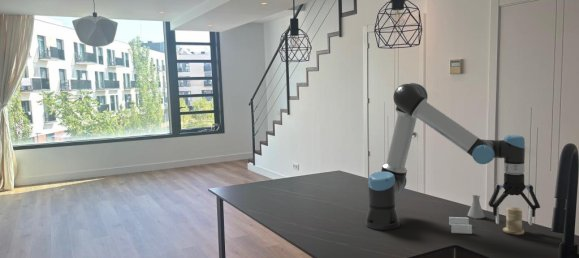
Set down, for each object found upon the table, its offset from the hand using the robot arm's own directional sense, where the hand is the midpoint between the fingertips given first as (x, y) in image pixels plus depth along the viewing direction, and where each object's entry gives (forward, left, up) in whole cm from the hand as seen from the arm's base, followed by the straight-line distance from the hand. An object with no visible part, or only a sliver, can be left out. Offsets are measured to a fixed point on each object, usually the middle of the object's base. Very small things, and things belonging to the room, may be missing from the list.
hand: (513, 223), depth 183 cm
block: (0, 0, -3) cm, 3 cm away
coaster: (0, 0, -3) cm, 3 cm away
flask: (-12, +19, -4) cm, 23 cm away
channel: (-21, 0, -3) cm, 21 cm away
